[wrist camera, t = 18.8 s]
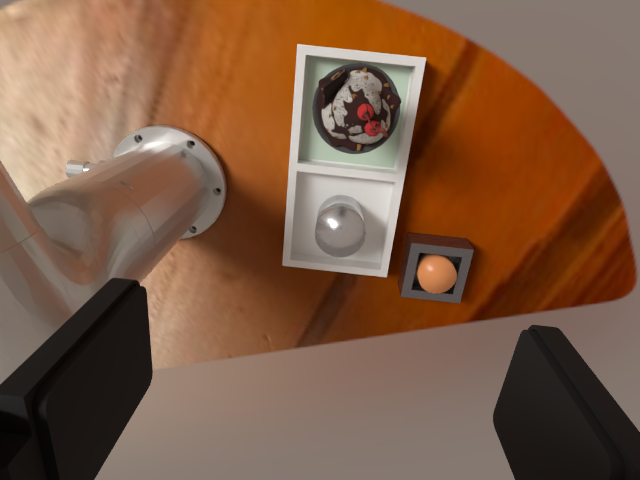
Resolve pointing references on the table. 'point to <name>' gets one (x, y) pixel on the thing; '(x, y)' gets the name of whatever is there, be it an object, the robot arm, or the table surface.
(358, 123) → the sundae
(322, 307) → the table surface
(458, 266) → the button housing
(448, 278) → the button cap
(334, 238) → the cylinder
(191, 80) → the table surface
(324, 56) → the shallow white tray
